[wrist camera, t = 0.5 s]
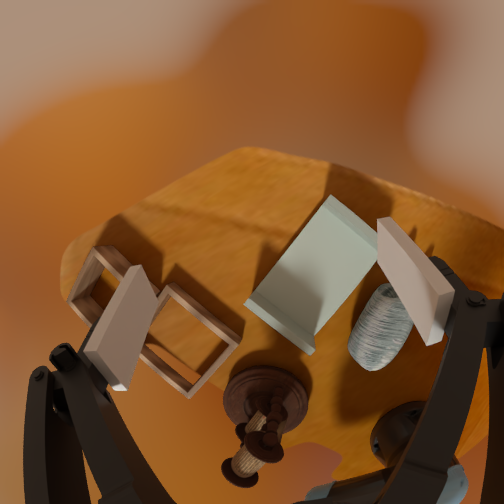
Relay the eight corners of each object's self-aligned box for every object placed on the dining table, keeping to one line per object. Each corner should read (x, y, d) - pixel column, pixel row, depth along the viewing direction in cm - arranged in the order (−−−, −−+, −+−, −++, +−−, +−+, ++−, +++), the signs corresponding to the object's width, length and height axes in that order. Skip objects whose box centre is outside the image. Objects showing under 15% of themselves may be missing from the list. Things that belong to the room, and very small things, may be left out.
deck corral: (242, 338, 48) (238, 344, 45) (194, 391, 50) (189, 399, 48) (173, 281, 50) (166, 284, 47) (134, 340, 52) (126, 345, 49)
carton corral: (160, 291, 50) (144, 297, 44) (128, 340, 52) (111, 350, 46) (112, 245, 51) (92, 246, 45) (85, 295, 53) (66, 301, 47)
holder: (383, 248, 44) (397, 250, 37) (308, 339, 47) (309, 355, 40) (325, 200, 45) (330, 194, 38) (251, 294, 48) (243, 304, 41)
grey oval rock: (375, 264, 41) (410, 305, 33) (409, 282, 44) (442, 319, 36) (324, 330, 46) (346, 377, 38) (362, 340, 50) (385, 381, 41)
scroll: (280, 438, 49) (269, 514, 29) (213, 405, 50) (175, 474, 30) (324, 385, 47) (333, 461, 27) (250, 347, 48) (221, 412, 29)
